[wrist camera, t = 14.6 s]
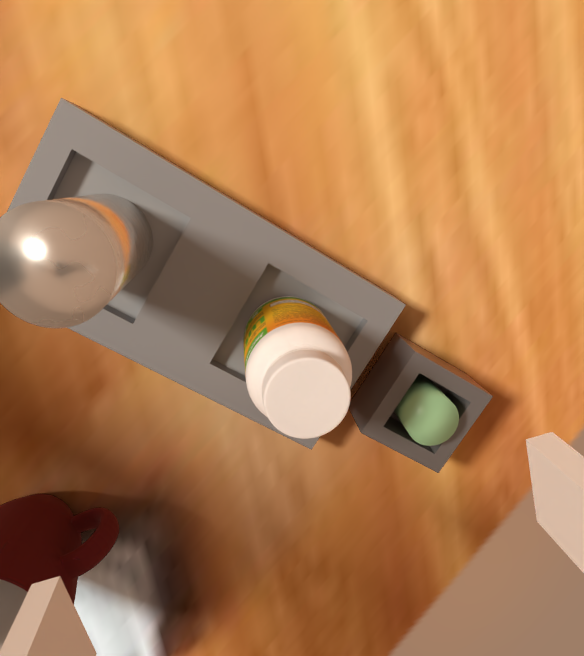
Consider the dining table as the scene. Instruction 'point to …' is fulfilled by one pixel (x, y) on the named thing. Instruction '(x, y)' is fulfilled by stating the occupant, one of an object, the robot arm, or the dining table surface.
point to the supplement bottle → (296, 367)
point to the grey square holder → (392, 384)
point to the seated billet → (70, 256)
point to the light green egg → (427, 413)
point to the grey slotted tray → (198, 265)
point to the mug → (47, 548)
